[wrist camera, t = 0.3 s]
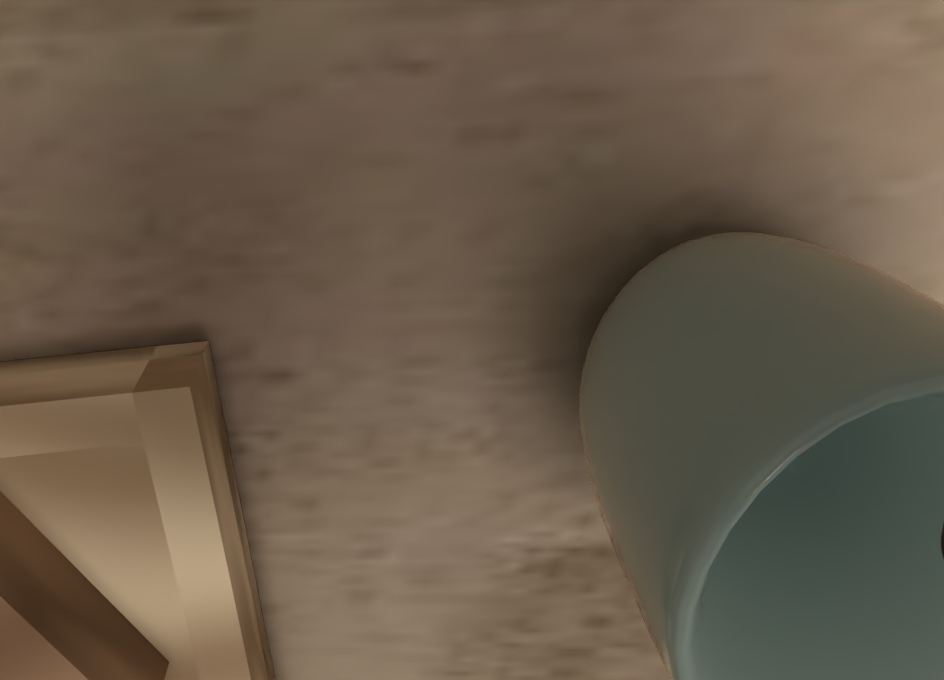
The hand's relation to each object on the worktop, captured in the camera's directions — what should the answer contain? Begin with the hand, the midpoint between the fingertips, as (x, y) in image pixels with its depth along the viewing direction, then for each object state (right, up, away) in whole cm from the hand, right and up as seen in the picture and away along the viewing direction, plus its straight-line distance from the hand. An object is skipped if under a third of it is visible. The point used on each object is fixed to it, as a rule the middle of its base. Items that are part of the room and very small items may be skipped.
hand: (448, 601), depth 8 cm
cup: (+6, +2, +15) cm, 17 cm away
